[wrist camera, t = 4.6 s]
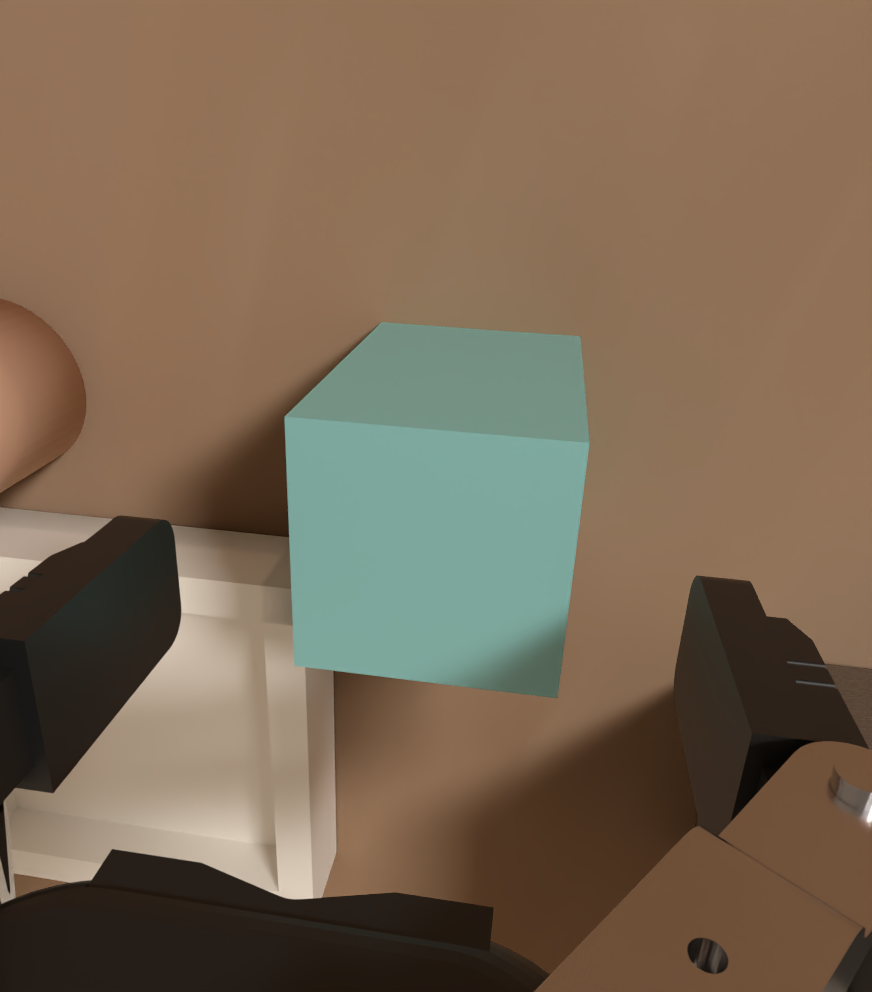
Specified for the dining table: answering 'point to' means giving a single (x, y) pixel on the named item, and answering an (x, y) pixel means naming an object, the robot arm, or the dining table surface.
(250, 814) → the tray
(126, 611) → the robot arm
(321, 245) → the dining table surface
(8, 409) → the peach capsule
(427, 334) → the teal block
